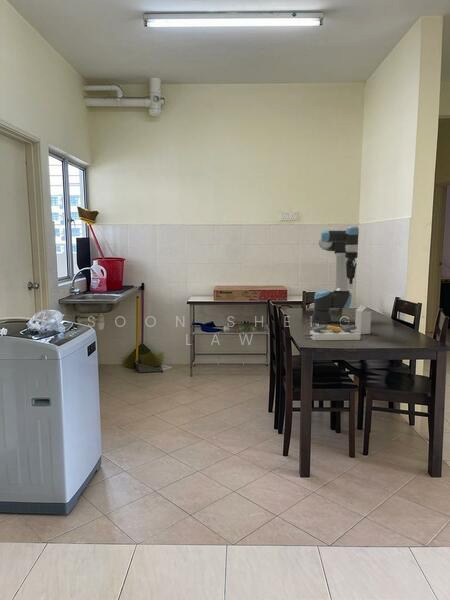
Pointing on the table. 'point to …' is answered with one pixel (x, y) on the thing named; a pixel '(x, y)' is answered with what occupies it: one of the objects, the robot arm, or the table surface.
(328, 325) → the rocker mid
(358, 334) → the power strip
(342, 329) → the rocker
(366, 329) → the milk carton
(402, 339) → the table surface
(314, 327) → the rocker
